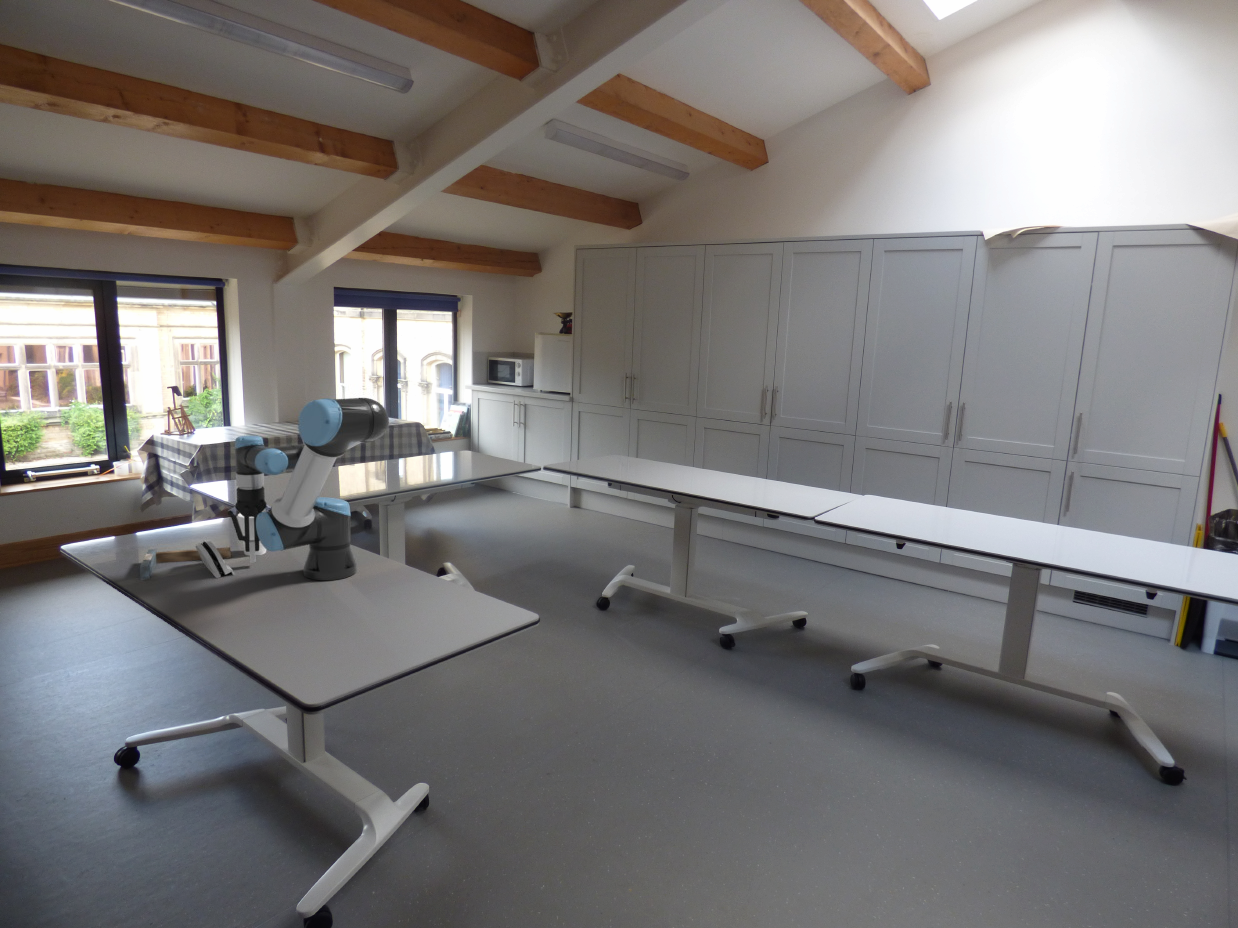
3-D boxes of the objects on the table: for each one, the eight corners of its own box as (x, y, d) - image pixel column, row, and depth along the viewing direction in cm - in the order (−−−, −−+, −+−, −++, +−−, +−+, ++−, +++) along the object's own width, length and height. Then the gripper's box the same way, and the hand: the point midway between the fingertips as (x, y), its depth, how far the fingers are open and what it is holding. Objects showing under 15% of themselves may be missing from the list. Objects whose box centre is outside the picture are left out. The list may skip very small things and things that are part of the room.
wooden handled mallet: (230, 556, 230) (230, 543, 229) (228, 572, 215) (227, 559, 214) (149, 562, 220) (148, 548, 219) (140, 579, 205) (139, 565, 204)
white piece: (235, 575, 213) (221, 546, 209) (219, 583, 210) (204, 554, 206) (221, 560, 225) (208, 532, 221) (205, 567, 223) (191, 539, 219)
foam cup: (277, 549, 238) (275, 512, 236) (260, 558, 229) (259, 518, 227) (250, 547, 239) (248, 509, 237) (232, 555, 230) (231, 516, 228)
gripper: (274, 483, 223) (276, 556, 227) (226, 484, 217) (229, 559, 221) (274, 488, 216) (276, 563, 220) (225, 490, 211) (228, 566, 215)
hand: (252, 561), depth 221 cm, fingers closed
